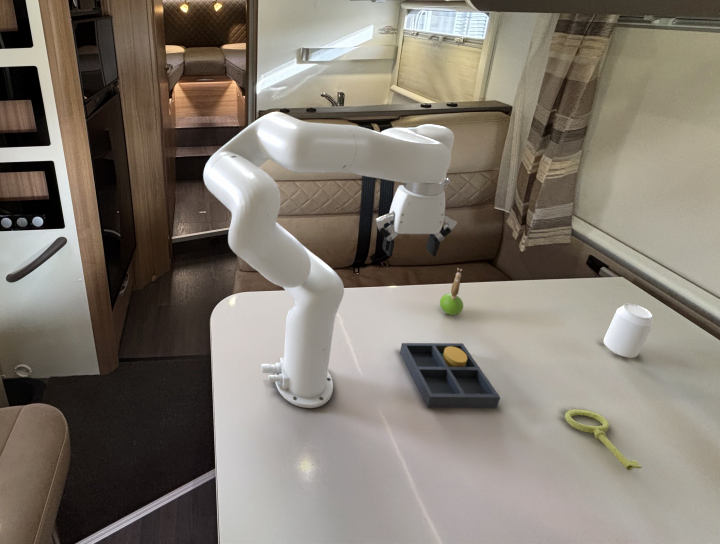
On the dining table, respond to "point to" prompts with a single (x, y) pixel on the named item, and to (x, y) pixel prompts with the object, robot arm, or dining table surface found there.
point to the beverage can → (628, 330)
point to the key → (599, 434)
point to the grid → (447, 377)
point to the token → (454, 357)
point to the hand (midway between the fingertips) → (409, 252)
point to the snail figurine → (452, 298)
